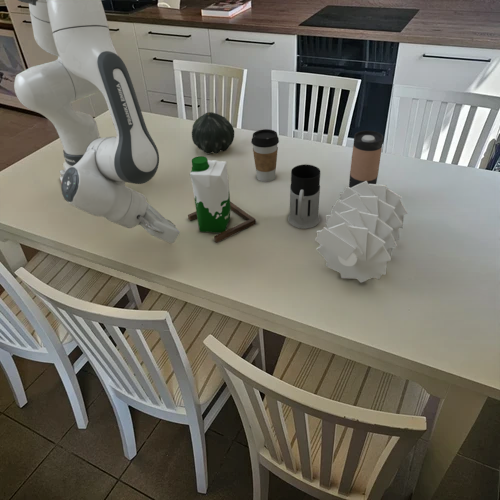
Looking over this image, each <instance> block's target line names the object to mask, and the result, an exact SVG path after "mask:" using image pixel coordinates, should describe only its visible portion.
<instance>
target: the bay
mask: <svg viewBox="0 0 500 500" xmlns="http://www.w3.org/2000/svg"><path fill="white" fill-rule="evenodd" d="M230 206H231V212H233V213H235V214H236V215H238V216H239V217H241V218H242V220H244V221H243V222H241V223H239V224H236V225H234V226H232V227H230V228H227V229H226V231H224V232H222V233H217V234H215V235H214V236H213V240H214V242H215V243H219V242H221V241H223V240H226V239H227V238H229V237H232V236H235V235H236V234H238V233H240V232H243V231H245V230H247V229H248V228H250V227H252V226H254V225H256V224H257V219H256V218H255V217H253V216H252V215H250V214H249V213H248V212H246V211H244V210H243V209H242V208H240V207H239V206H238V205H236V204H235V203H233V202H232V201H230ZM187 218H188V219H187V220H188V221H190V222H191V221H193V220H197V213H196V211H193V212H191V213H189V214H187Z"/></svg>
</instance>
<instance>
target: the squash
mask: <svg viewBox="0 0 500 500" xmlns="http://www.w3.org/2000/svg"><path fill="white" fill-rule="evenodd" d="M191 139H192V142H193V144H194V145H195V146H196V147H197V148H198V150H201V151H203V152H204V153H205V154H206V155H210V154H212V153H213V154H214V155H217V154H219V153H220V152H226V151H228V149H230V146H231V145H232V144H233V143H234V139H235V129H234V126H233V125H232V123H231V122H230V121H229V120H228V119H227V118H226V117H225V116H223V115H220V114H219V113H216V112H212V111H211V112H205V113H204V114H202V115H201V116H199V117H198V118H197V119H195V121H194V122H193V124H192V128H191Z"/></svg>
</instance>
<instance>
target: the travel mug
mask: <svg viewBox="0 0 500 500" xmlns="http://www.w3.org/2000/svg"><path fill="white" fill-rule="evenodd" d="M383 143H384V136H383V134H381V132H378V131H375V130H361V131H358V132H356V133H354V137H353V143H352V144H353V145H352V152H351V161H350V170H349V182H348V187H350V188H352V187H353V186H356V185H358V184H360V183H363V182H365V181H367V182H368V184H378V178H379V177H378V176H379V170H380V163H381V157H382V150H383Z"/></svg>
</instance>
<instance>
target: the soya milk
mask: <svg viewBox="0 0 500 500" xmlns="http://www.w3.org/2000/svg"><path fill="white" fill-rule="evenodd" d="M227 163H228V162H227V161H225V160H224V161H223V160H216V159H211V160H209V159H208V158H207V157H206V156H203V155H199V156H195V157H193V158H192V159H191V171H190V173H189V177H190V180H191V185H192V191H193V199H194V205H195V212H196V213H197V218H196V220H197V224H198V230H199V232H201V233H215V234H220V233H222V232H224V231H226V230H228V225H229V223H230V220H231V212H232V210H231V206H230V202H231V196H230V185H229V173H228V166H227V165H228V164H227Z"/></svg>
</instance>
